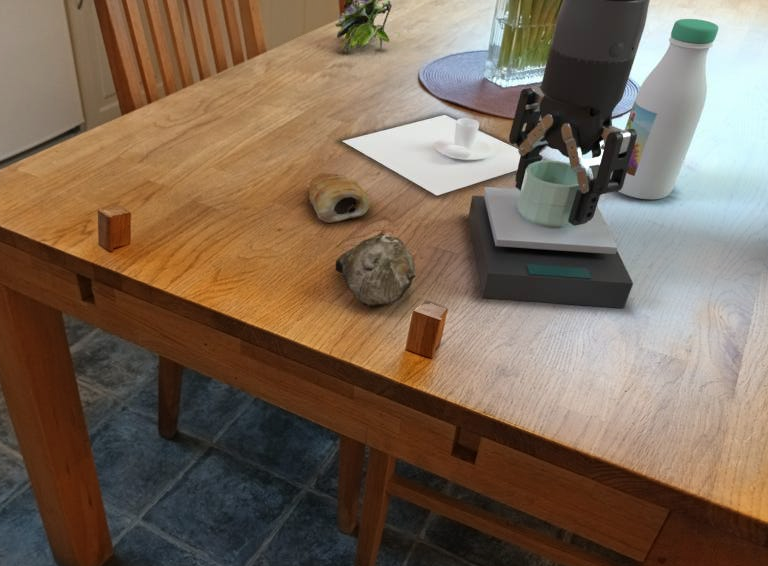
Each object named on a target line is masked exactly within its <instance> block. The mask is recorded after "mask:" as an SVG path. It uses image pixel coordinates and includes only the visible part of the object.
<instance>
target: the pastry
mask: <svg viewBox="0 0 768 566" xmlns="http://www.w3.org/2000/svg"><path fill="white" fill-rule="evenodd" d="M308 193H309V197H308V198H309V200H310V204H311V205H312V206H313V209H314V212H315V213H316V216H317V218H318V219H319V220H320V221H323V222H324V223H327V224H330V223H337V222H341V221H346V220H347V219H355V218H359V217H361V216H362V217H363V215H365V214H366V213H367V212H368V210H369V208H370V205H371V204H370V202H369V199H368V196H367V194H366V192H365V190H364V189H363V187H361V186H360V185H359V184H358V182H357V181H356V180H353V179H348V177H347V176H344V175H342V174H337V173H326V172H321V173H319V174H316V175H315V176H314V177H312V178H311V180H310V182H309V187H308Z"/></svg>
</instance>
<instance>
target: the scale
mask: <svg viewBox="0 0 768 566" xmlns="http://www.w3.org/2000/svg"><path fill="white" fill-rule="evenodd" d="M519 196H520V190H519V189H517V188H508V187H507V188H505V187H489V186H485V187H484V188H483V195H472V196H471V201H470V206H469V210H468V215H467V220H468V226H469V232H470V236H471V237H470V238H471V242H472V249H473V252H474V259H475V265H476V269H477V275H478V281H479V286H480V290H481V297H482V298H483V299H492V300H507V301H521V302H534V303H535V302H536V303H547V304H561V305H574V306H586V307H588V306H589V307H600V308H614V309H624V308H625V306H626V303H627V301H628V298H629V297H630V293H631V290H632V287H633V285H634V282H633V280H632V278H631V276H630V274H629V272H628V270H627V267H626V266H625V263H624V261H623V258H622V257H621V255H620V253H619V251H618V245H617V243H616V240H615V239H614V237H613V234H612V232H611V231H610V229H609V227H608V225H607V223H606V220H605V218H604V216H603V214H602V212H601V210H600V208H599V207H598V205H597V207H596V210H595V213H594V216H593V218H592V219H591V220H590V221H588V222H587V223H585V224H581V225H576V226H574V225H572V224H571V223H570V224H568V225H566V226H562V227H546V226H541V225H537V224H534V223H532V222H530V221H528V220H526V219H525V218H524V217H523V216H522V215H521V213H520V212H519V211H518V207H517V204H518V200H519Z"/></svg>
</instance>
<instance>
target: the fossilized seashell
mask: <svg viewBox="0 0 768 566" xmlns="http://www.w3.org/2000/svg"><path fill="white" fill-rule="evenodd" d="M412 254H413V253H411V252H410V251H408V250H407V247H406V246H405V244H404V242H403V240H401V239H400V238H398V237H397V236H393V235H386V234H385V233H384V232H380V233H377V234H376V235H374V236H372V237H369V238H365V239H363V240H362V241H360V242H359V243H358V244H356V245H355V246H353V247H352V248H350V249H349V250H347V251H346V252H344V253H343V254H341V255H340V256H338V258H337V259H336V261H335V271H336V272H338V273H340V274H341V275H342V277H343V280H344V282H345V285H347V288H348V289H349V291H350V292H351V293H352V295H353V297H354V299H355V300H356V301H357V302H359V303H360V304H361V305H362V304H363V305H364V306H366V307H371V308H372V307H373V308H374V307H376V308H379V307H384V306H388V305H391V304H393V303H395V302H397V301H399V300H401V299H402V298H403V297H404V295H405V294H406V293H407V292H408V289H410V287H411V285H412V283H413V280H414V278H416V277H417V276H416V272H415V265H416V264H415V259H414V256H413V255H412Z"/></svg>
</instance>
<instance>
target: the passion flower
mask: <svg viewBox="0 0 768 566" xmlns="http://www.w3.org/2000/svg"><path fill="white" fill-rule="evenodd" d="M379 1H380V0H345V2H344V3H343V4H342V5H343V8H344V9H345V11H344V12H342V13H340V14H341V15H339V16H338V22H335V27H337V28H340V29H339V30H338V32H337V34H336V38H341V37H343V36H344V37H343V38H344V39H343V42H342V49H343V51H344V53H345V54H346V53H347V49H348V50H349V51H352V50H354V49H356V48H358V47H359V48H364V47H365V46H366V45H368V44H369V43H371V40H373V38H376V36H377V37H378V38H379V48H380V51H382V49H383V48H382V47H383V43H384V42H387V43H390V38H389V36H388V34H387V33H386V32H385V25H386V24H387V20H388V17H389V15H390V12H391V9H392V6H393V5H392V3H391V1H390V0H385V1H383V2H381V5H382V6H379ZM385 7H386V8H385ZM386 12H387V13H386ZM380 14H383V15H384V14H386V15H385V18H384V19H383V23H382V24H377V25H375V19H376V18H377V16H378V15H380ZM383 41H384V42H383Z"/></svg>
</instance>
